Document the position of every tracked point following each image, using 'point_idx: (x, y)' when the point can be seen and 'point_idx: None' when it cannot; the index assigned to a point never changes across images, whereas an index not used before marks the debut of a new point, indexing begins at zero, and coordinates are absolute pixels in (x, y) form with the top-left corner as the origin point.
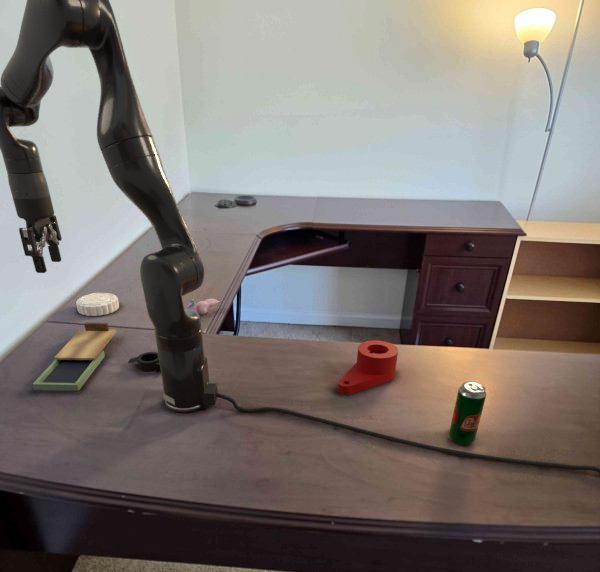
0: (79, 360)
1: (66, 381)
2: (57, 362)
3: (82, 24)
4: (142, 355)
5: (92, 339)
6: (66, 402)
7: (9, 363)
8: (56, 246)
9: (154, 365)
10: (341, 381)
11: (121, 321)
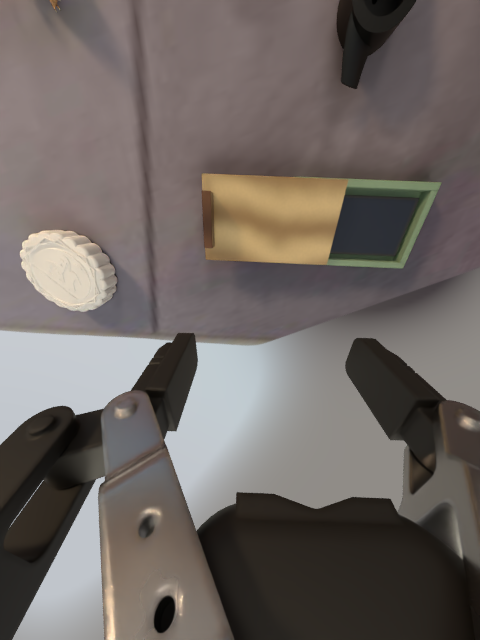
0: None
1: (404, 215)
2: None
3: None
4: (370, 13)
5: (255, 216)
6: (454, 197)
7: (292, 330)
8: (162, 393)
9: None
10: None
11: (119, 201)
